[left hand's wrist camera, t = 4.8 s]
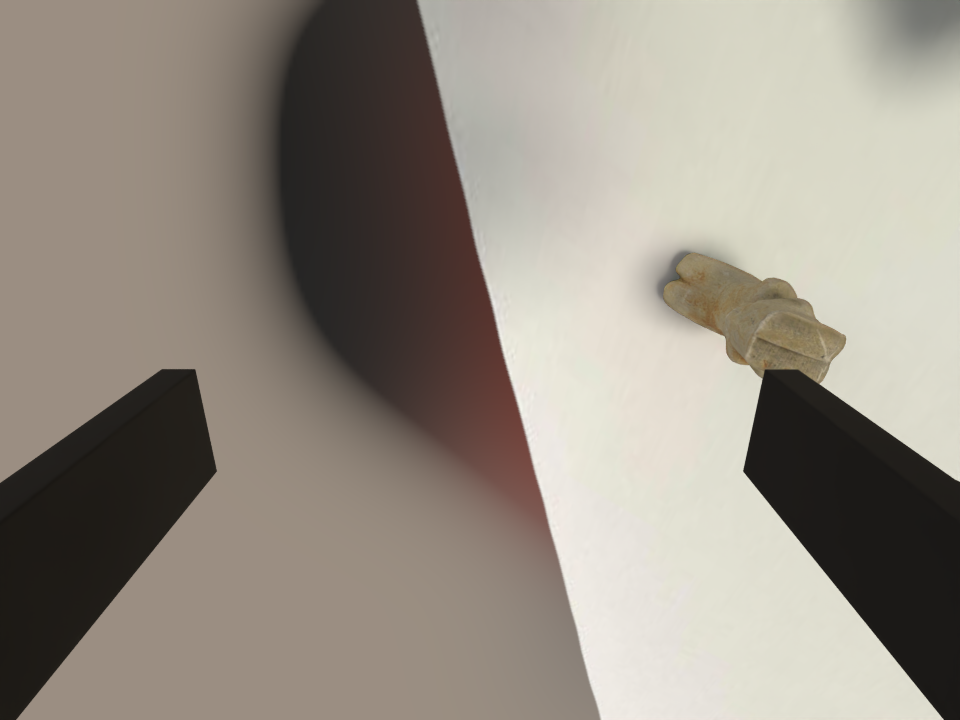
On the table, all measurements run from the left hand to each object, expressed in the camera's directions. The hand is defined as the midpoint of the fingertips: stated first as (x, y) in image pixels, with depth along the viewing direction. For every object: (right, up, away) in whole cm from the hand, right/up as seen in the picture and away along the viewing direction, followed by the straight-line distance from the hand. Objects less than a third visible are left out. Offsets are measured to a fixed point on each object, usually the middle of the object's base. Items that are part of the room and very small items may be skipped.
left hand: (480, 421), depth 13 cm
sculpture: (+18, +7, +30) cm, 36 cm away
